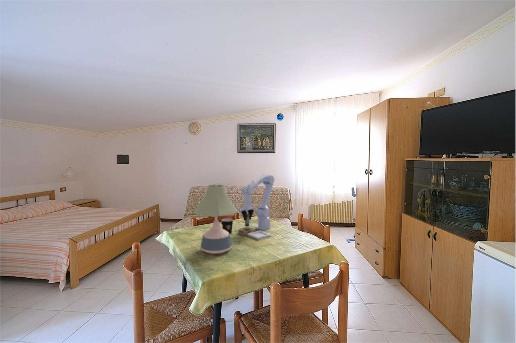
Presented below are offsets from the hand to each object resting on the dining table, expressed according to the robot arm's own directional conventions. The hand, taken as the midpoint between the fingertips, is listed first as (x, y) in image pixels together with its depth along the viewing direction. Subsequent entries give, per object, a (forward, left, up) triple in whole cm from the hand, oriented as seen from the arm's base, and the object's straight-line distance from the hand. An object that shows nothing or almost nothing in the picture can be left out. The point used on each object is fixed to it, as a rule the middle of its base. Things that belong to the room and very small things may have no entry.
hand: (247, 219), depth 186 cm
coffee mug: (+12, -12, -11) cm, 20 cm away
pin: (0, 0, -5) cm, 5 cm away
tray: (-3, +11, -10) cm, 15 cm away
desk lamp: (+35, +16, -11) cm, 40 cm away
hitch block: (0, 0, -10) cm, 10 cm away
